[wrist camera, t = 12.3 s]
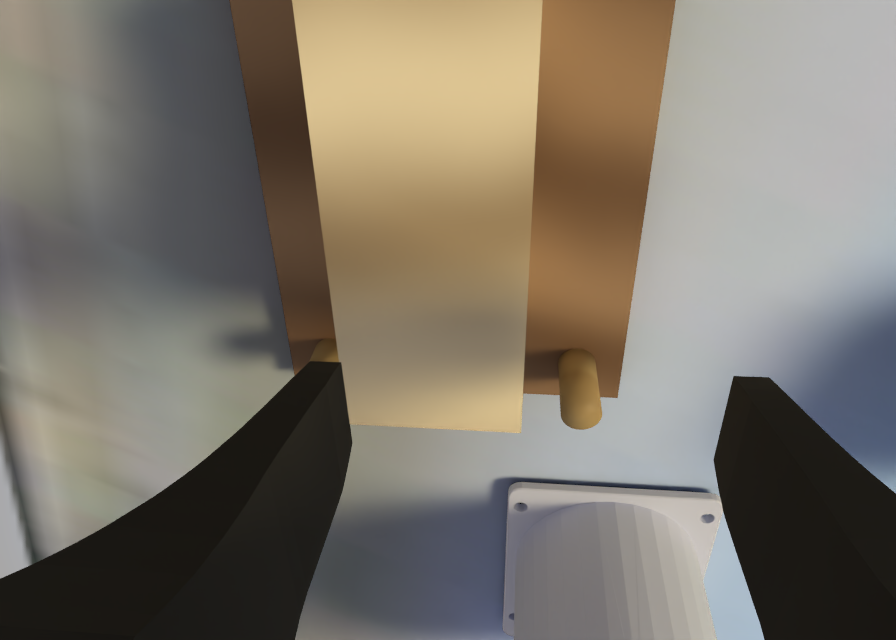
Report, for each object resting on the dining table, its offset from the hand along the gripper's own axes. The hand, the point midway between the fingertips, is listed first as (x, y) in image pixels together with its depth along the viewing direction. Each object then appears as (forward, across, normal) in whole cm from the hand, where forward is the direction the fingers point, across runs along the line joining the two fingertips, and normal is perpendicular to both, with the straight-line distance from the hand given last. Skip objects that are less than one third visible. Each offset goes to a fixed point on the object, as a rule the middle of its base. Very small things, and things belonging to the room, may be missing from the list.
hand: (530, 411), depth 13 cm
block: (+8, +2, -2) cm, 9 cm away
